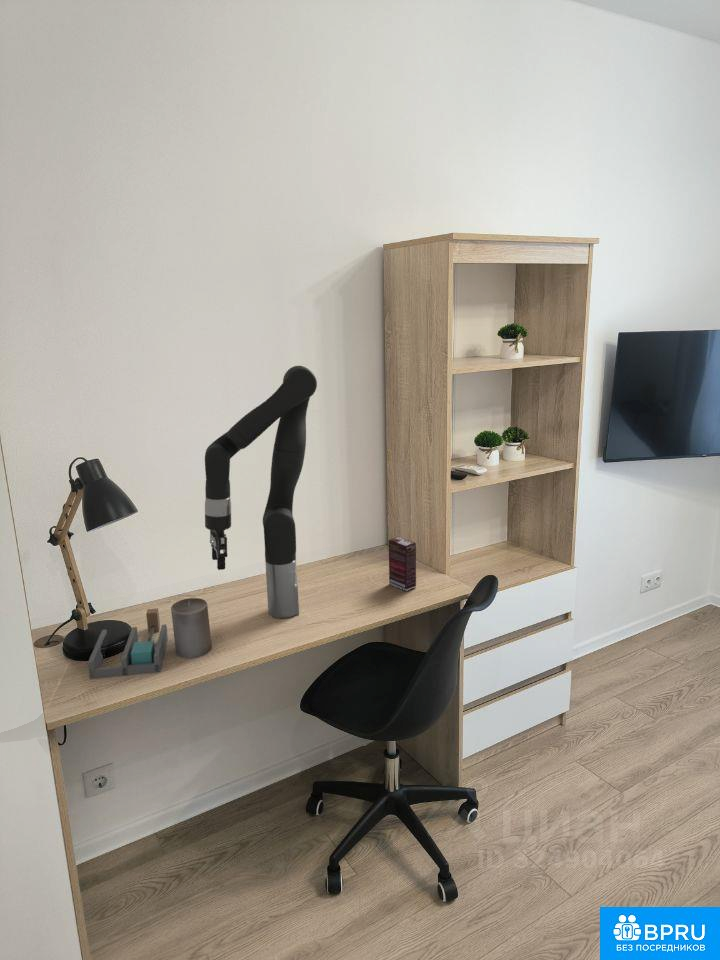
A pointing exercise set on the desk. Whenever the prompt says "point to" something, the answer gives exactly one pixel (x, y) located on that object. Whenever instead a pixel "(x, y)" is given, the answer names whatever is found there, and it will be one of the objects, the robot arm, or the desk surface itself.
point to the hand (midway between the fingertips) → (218, 564)
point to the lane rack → (127, 657)
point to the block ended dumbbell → (146, 650)
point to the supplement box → (402, 563)
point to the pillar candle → (191, 628)
